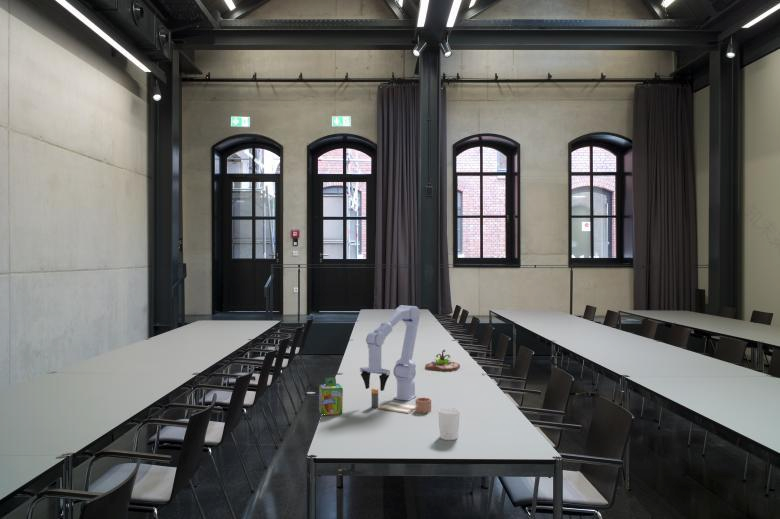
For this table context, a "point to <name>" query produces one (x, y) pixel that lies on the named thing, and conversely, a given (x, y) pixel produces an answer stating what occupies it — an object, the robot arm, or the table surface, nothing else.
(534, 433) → the table surface
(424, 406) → the pen cup
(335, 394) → the chalk box
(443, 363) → the plant
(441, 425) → the white cup
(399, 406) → the wooden picture frame
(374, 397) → the marker
